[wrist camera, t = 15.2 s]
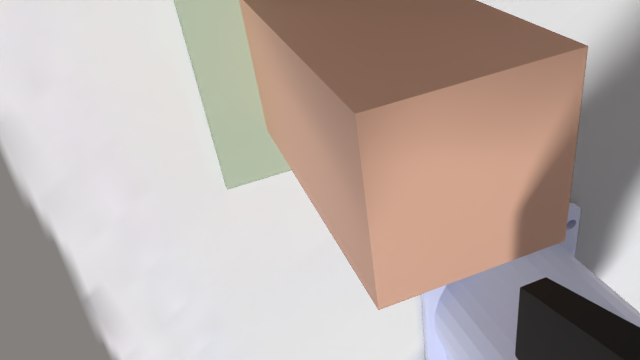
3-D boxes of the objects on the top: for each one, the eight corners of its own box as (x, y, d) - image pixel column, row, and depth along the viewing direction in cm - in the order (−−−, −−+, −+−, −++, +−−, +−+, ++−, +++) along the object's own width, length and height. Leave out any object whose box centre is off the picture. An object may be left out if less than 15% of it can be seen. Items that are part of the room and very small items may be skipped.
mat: (431, 122, 22) (435, 125, 21) (225, 185, 20) (227, 189, 20) (422, -114, 17) (427, -113, 17) (158, -58, 16) (158, -56, 15)
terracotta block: (390, 95, 20) (564, 240, 13) (267, 130, 19) (378, 310, 12) (379, -39, 18) (588, 46, 10) (237, -6, 17) (354, 113, 9)
